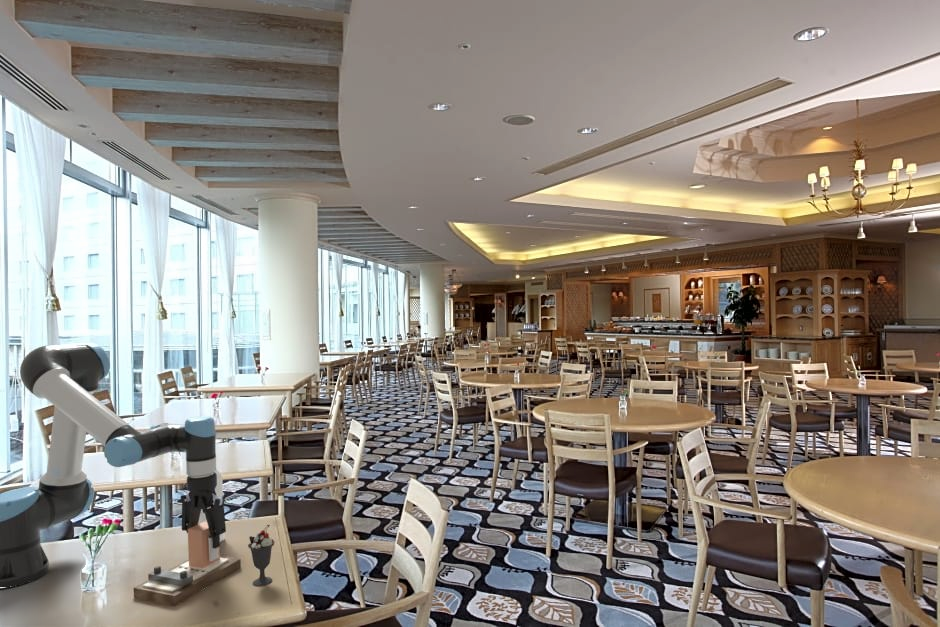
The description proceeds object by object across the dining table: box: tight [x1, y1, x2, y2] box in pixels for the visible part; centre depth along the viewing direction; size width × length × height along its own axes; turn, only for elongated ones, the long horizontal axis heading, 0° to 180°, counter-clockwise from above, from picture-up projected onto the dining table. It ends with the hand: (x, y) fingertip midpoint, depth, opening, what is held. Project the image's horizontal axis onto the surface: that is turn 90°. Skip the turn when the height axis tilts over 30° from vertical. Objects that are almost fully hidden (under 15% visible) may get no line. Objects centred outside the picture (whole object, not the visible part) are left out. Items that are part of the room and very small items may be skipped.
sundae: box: [247, 524, 275, 587], centre depth 153 cm, size 7×7×15 cm
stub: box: [180, 521, 229, 573], centre depth 159 cm, size 10×8×10 cm
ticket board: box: [133, 555, 242, 607], centre depth 154 cm, size 14×22×6 cm, turn 159°
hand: (204, 557), depth 159 cm, fingers open, 6 cm apart
